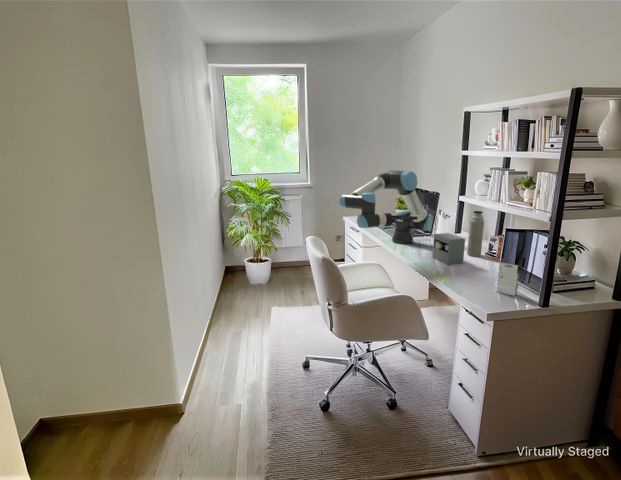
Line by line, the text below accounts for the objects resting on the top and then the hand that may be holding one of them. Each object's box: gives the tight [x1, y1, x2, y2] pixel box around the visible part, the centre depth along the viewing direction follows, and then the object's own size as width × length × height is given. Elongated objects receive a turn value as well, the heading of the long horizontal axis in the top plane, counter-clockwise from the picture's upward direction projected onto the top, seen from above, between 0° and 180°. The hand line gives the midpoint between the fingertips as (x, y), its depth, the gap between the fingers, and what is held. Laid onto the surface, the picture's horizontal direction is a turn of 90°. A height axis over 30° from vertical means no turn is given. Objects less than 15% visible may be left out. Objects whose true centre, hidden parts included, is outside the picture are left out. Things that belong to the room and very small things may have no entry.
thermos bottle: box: [466, 210, 485, 258], centre depth 231 cm, size 8×8×28 cm
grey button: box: [435, 243, 445, 249], centre depth 220 cm, size 3×5×3 cm, turn 105°
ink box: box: [495, 261, 520, 297], centre depth 169 cm, size 4×8×15 cm, turn 47°
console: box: [431, 232, 466, 266], centre depth 221 cm, size 16×10×15 cm, turn 15°
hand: (421, 217), depth 216 cm, fingers closed
